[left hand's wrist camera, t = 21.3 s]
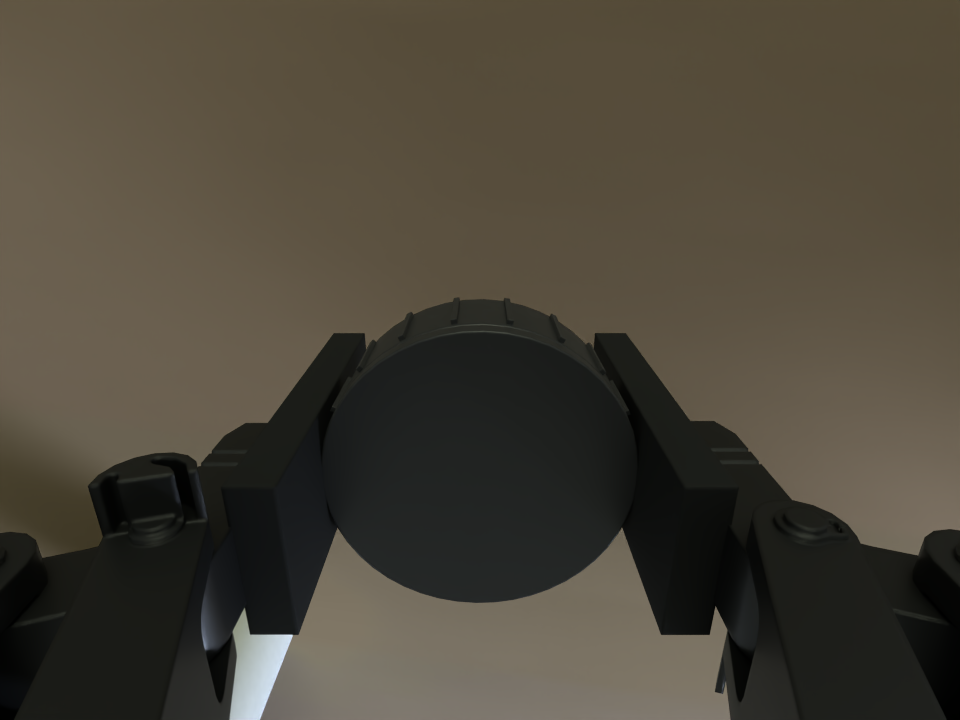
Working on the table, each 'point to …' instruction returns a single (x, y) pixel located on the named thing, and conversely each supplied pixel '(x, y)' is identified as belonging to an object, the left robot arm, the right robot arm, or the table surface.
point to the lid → (479, 453)
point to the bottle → (255, 669)
